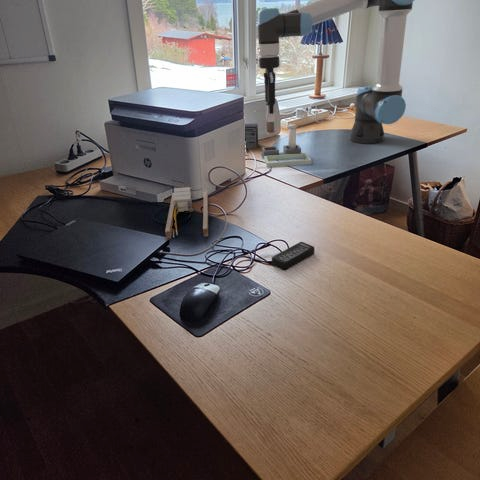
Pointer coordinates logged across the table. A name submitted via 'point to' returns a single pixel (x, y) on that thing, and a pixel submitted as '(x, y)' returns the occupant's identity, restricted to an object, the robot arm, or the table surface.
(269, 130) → the fuse
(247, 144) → the small box
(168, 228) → the cable rest strips
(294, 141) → the fuse
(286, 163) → the parts tray
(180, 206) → the electrical component
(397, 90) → the robot arm
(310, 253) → the multiport hub
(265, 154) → the fuse block
